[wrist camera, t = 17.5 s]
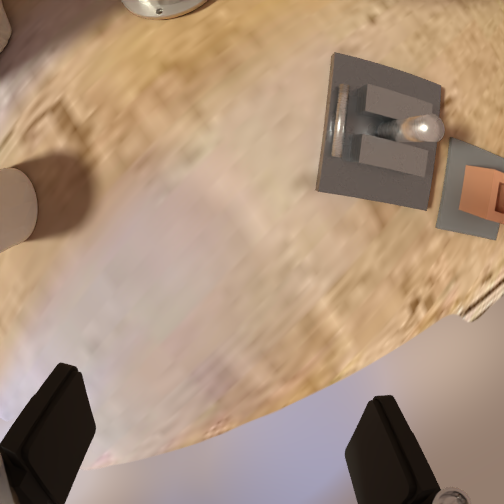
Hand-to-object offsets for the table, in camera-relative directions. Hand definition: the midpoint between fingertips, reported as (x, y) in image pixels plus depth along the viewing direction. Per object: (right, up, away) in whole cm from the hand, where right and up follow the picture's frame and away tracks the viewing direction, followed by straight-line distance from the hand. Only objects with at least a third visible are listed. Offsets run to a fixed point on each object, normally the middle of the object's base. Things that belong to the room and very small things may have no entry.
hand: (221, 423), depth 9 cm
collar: (+31, +13, +25) cm, 42 cm away
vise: (+16, +19, +24) cm, 34 cm away
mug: (-33, +11, +26) cm, 44 cm away
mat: (+31, +14, +26) cm, 43 cm away
